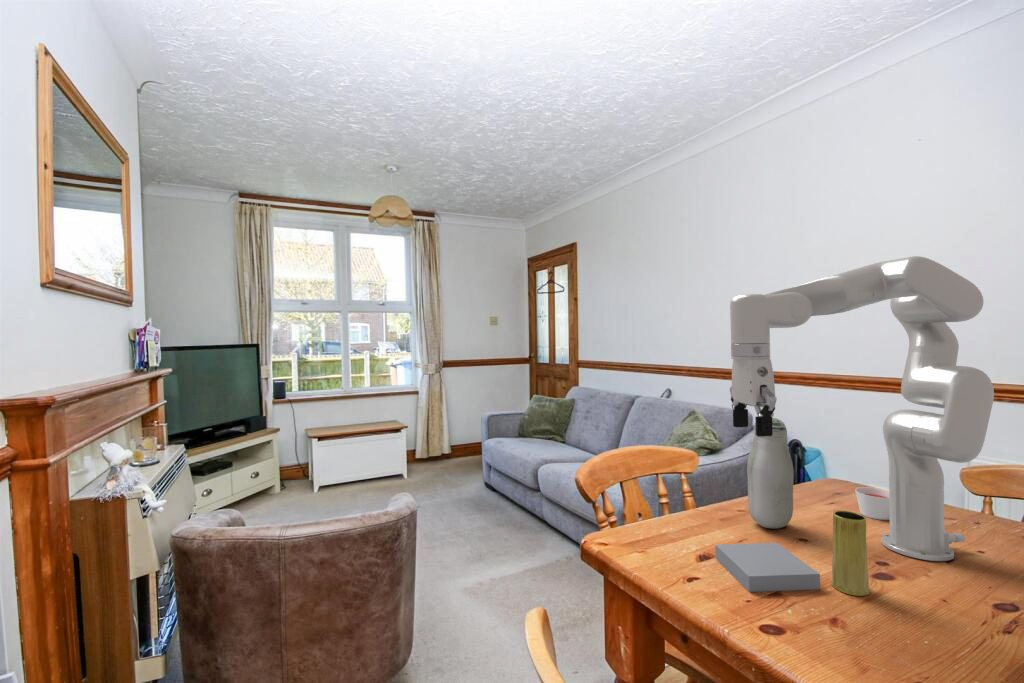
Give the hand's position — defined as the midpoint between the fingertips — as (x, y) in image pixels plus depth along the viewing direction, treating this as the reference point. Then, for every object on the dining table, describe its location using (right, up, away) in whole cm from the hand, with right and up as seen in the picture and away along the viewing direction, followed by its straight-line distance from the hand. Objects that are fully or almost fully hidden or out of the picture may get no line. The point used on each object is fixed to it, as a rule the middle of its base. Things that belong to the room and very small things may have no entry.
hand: (751, 431), depth 102 cm
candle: (+47, -28, +26) cm, 60 cm away
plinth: (+1, -29, -4) cm, 29 cm away
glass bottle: (+15, -29, +20) cm, 38 cm away
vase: (+14, -29, -10) cm, 34 cm away
